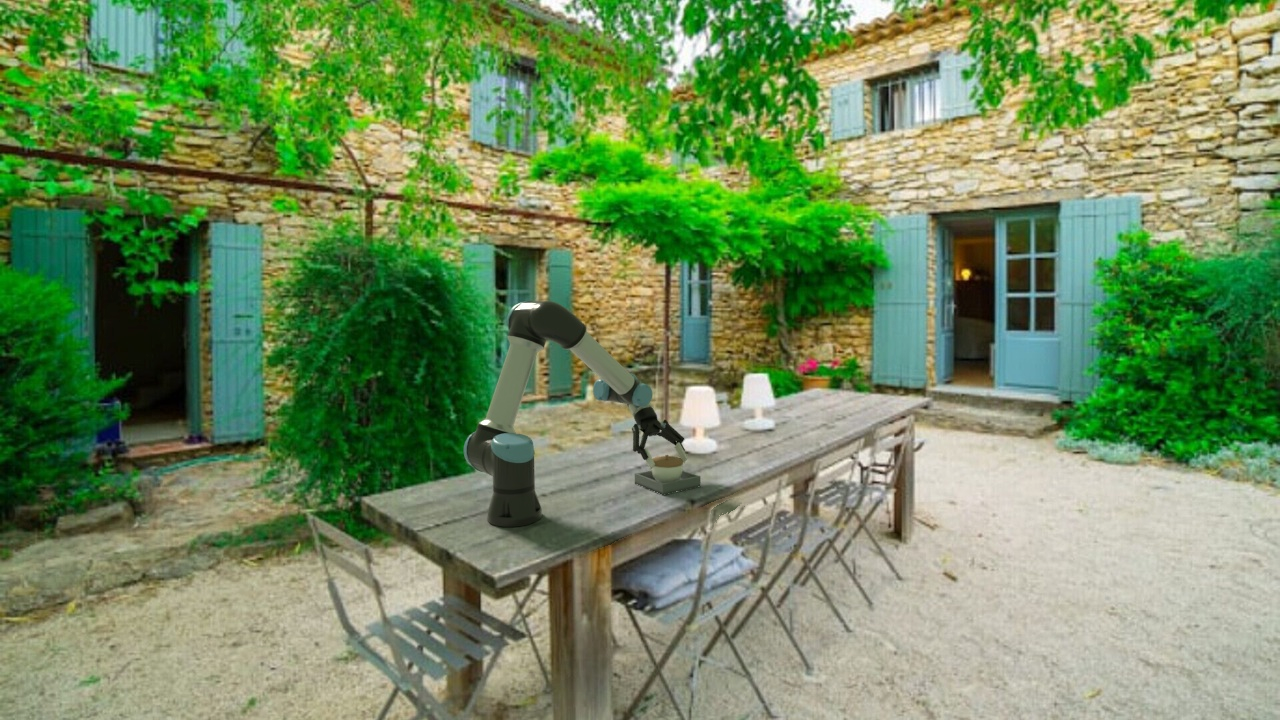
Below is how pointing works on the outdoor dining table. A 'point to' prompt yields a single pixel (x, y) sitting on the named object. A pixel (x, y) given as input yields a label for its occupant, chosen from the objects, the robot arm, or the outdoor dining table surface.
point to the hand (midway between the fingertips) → (669, 463)
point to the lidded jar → (667, 469)
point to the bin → (683, 483)
